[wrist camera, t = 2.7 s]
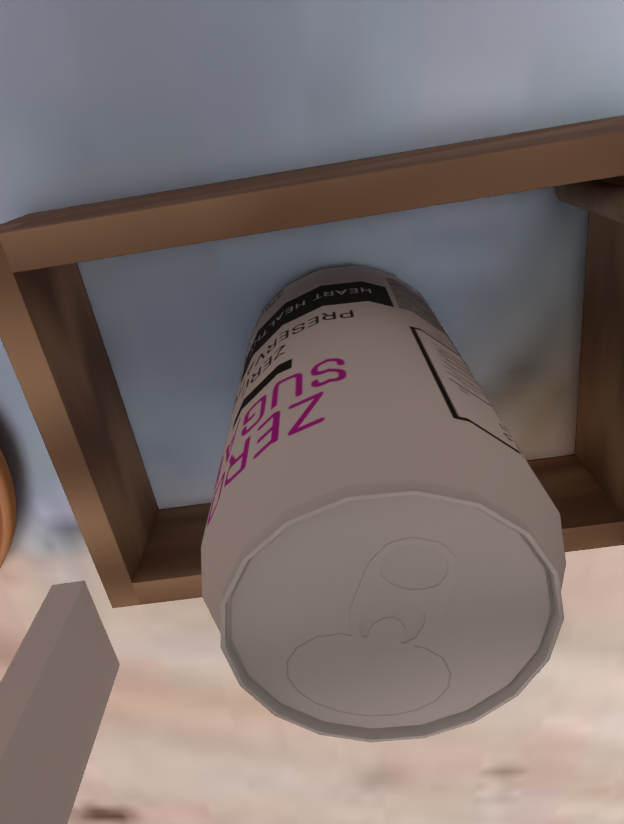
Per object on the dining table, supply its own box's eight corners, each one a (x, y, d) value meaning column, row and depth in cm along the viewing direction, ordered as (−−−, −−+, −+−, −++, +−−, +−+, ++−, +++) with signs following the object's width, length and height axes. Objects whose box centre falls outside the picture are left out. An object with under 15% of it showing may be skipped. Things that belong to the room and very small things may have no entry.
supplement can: (407, 455, 28) (503, 778, 14) (233, 419, 27) (162, 729, 13) (469, 289, 24) (673, 513, 11) (270, 240, 23) (224, 419, 10)
